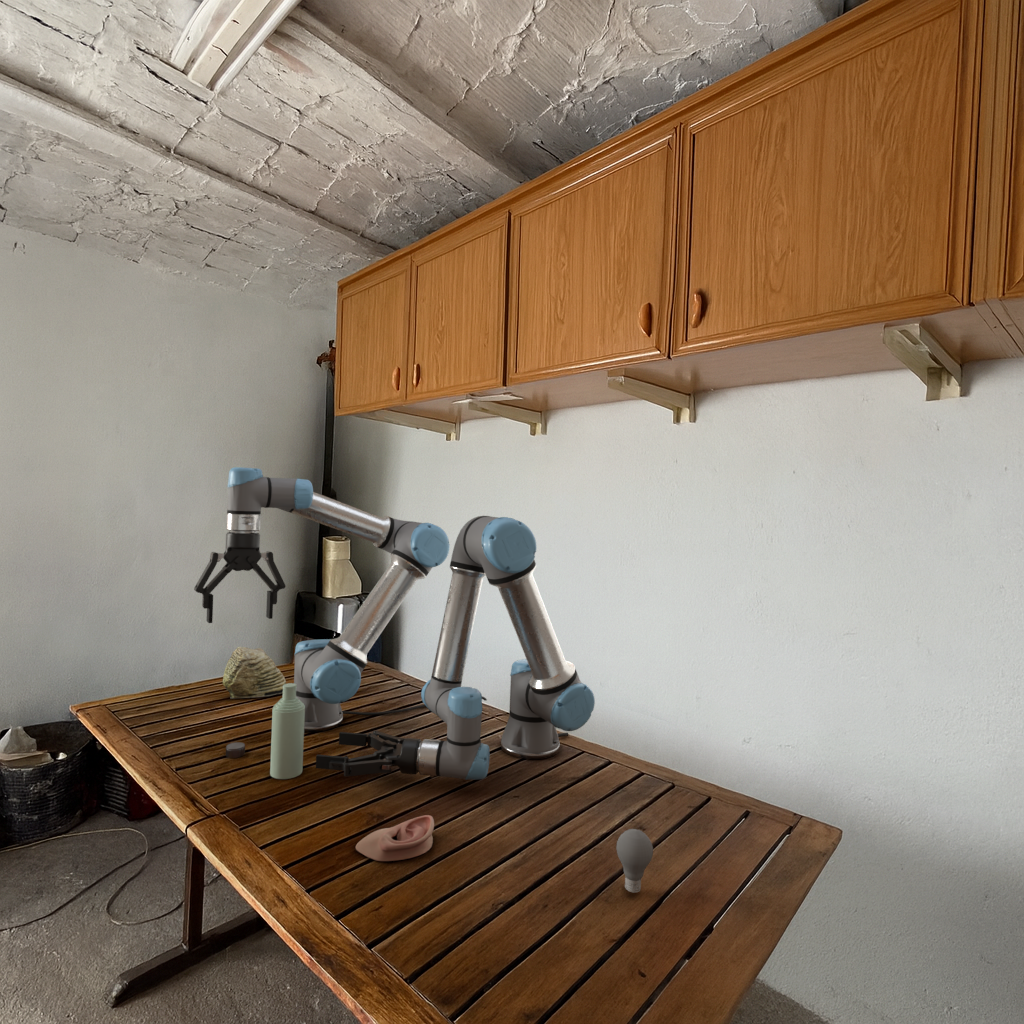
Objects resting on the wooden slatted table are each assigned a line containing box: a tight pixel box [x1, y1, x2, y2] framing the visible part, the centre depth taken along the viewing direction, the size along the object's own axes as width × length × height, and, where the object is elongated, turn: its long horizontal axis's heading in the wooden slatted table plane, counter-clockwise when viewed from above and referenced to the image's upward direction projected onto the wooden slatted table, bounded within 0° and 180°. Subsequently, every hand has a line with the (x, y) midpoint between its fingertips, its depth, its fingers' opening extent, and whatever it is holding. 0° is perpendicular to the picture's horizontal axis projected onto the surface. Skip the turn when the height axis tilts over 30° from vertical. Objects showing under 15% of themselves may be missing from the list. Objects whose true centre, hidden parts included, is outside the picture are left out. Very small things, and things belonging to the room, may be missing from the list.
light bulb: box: [615, 828, 654, 894], centre depth 106 cm, size 6×6×10 cm
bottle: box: [269, 682, 305, 780], centre depth 144 cm, size 7×7×20 cm
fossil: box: [222, 646, 287, 699], centre depth 198 cm, size 9×18×15 cm, turn 132°
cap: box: [225, 741, 246, 759], centre depth 153 cm, size 4×4×2 cm
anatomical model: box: [355, 814, 435, 862], centre depth 116 cm, size 13×4×12 cm
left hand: (240, 620), depth 152 cm, fingers open, 13 cm apart
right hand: (328, 749), depth 144 cm, fingers open, 13 cm apart
